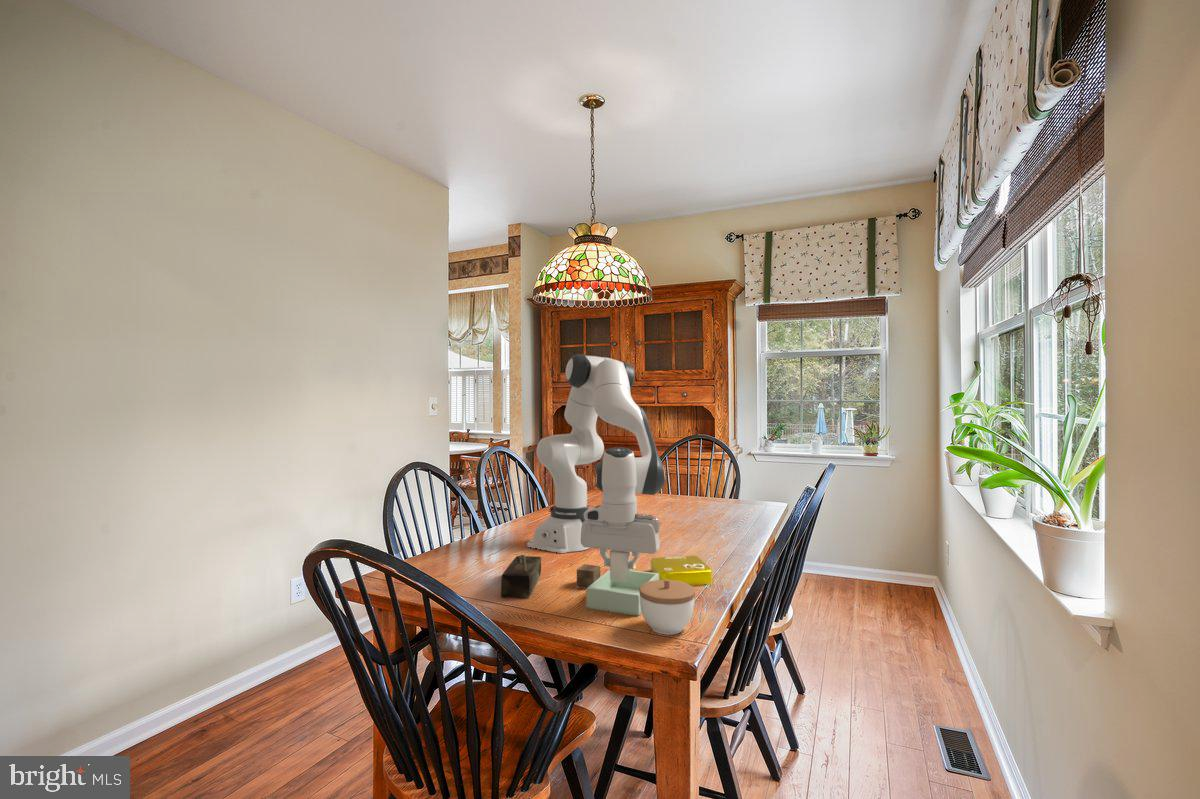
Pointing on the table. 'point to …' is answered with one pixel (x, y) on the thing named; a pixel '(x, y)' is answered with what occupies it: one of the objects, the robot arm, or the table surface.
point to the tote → (618, 593)
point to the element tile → (682, 569)
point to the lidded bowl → (667, 605)
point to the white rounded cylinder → (619, 566)
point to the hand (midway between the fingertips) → (619, 567)
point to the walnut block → (587, 575)
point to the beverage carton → (521, 577)
